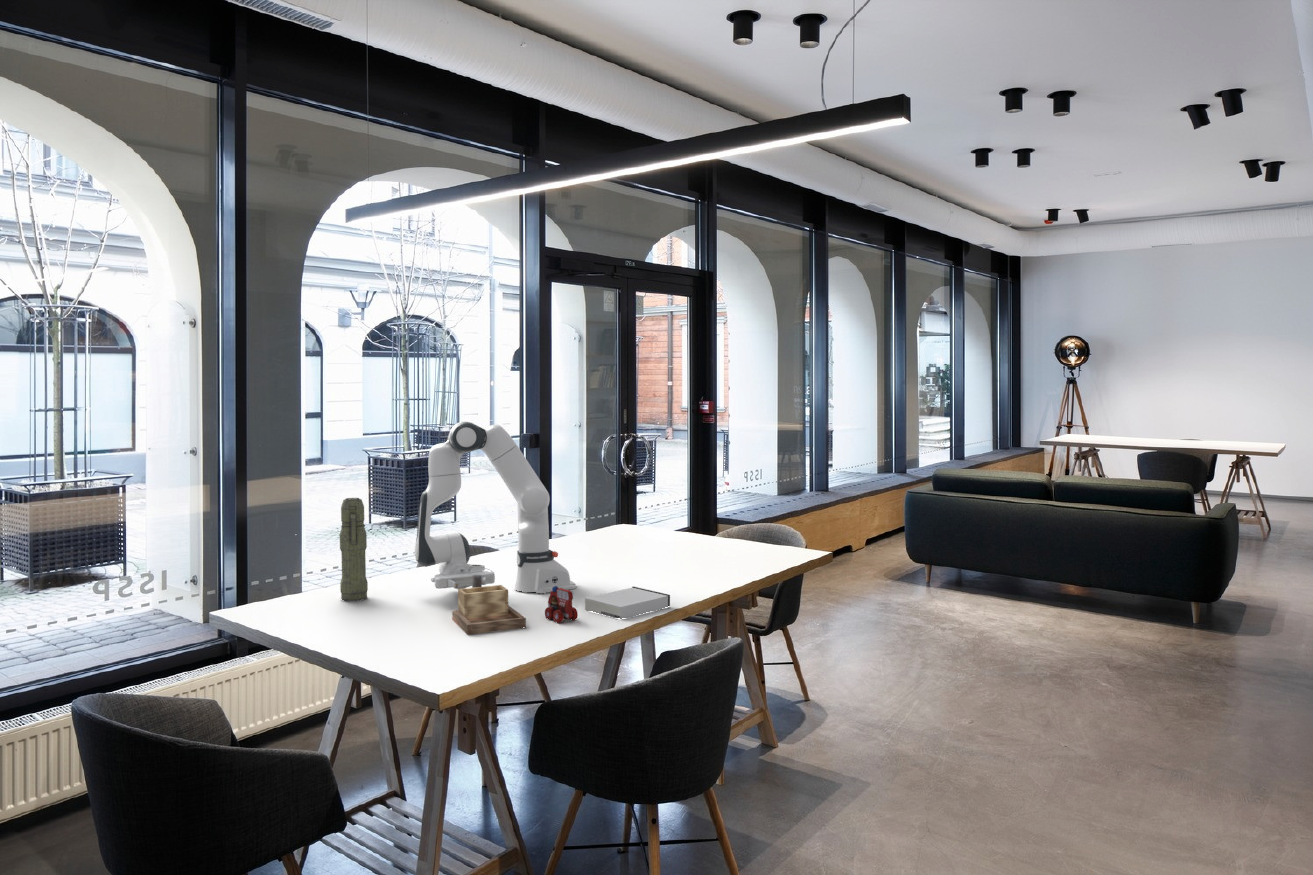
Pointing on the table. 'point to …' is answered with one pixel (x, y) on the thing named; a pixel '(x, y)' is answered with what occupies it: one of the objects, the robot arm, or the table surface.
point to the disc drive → (627, 602)
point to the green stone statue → (353, 551)
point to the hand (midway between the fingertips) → (470, 583)
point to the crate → (482, 600)
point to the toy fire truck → (560, 605)
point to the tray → (490, 622)
